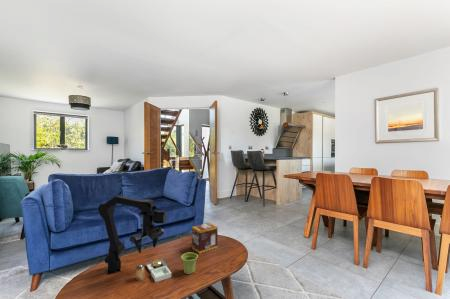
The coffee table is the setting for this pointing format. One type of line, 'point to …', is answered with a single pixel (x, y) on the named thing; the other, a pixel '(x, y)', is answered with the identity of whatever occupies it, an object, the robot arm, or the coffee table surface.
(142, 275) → the copper cell
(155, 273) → the trough
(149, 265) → the grey square tray
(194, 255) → the plant pot
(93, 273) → the coffee table surface
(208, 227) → the supplement box
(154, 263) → the brass plunger
